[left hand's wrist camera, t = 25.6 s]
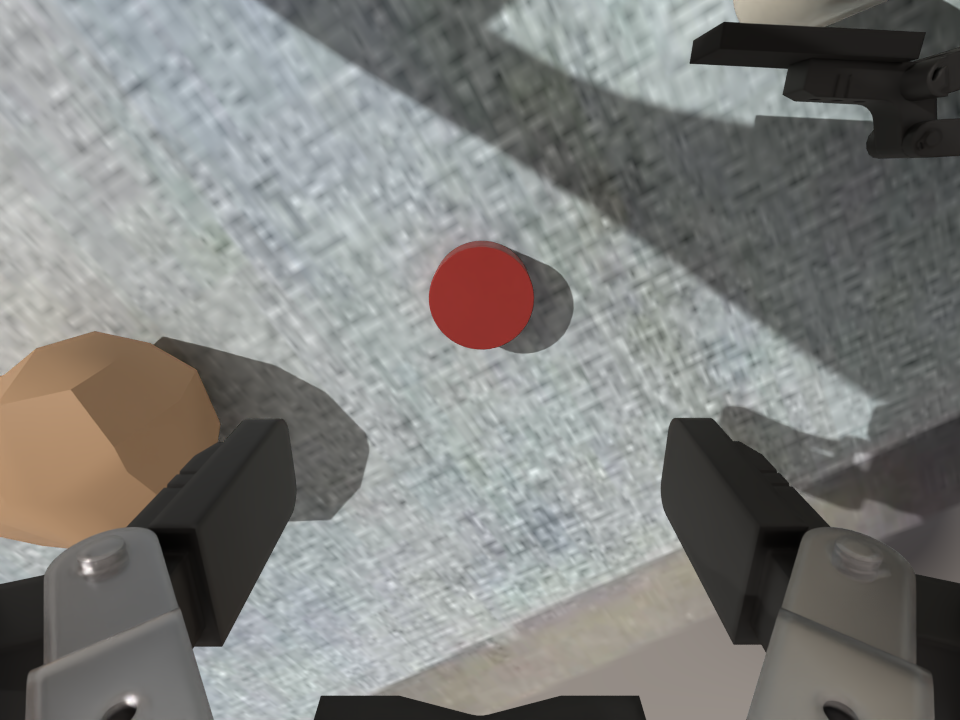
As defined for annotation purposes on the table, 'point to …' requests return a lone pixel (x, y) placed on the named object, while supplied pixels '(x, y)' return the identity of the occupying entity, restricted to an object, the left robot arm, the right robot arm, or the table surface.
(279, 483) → the left robot arm
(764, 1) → the slim white bottle
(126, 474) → the squash
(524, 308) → the lid
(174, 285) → the table surface
